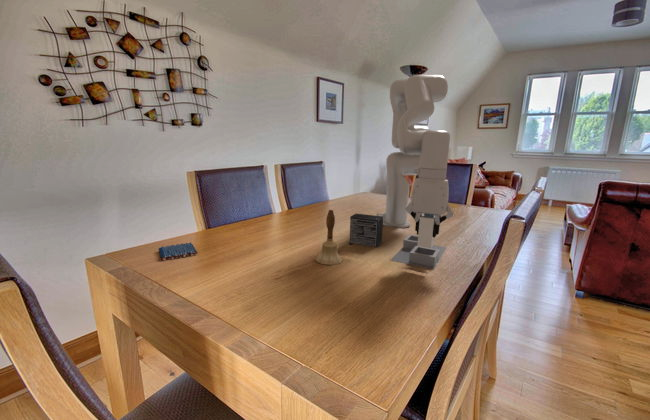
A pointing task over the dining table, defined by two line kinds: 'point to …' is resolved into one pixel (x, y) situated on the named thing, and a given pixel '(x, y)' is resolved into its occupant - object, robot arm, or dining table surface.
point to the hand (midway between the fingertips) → (426, 234)
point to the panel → (418, 253)
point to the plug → (426, 231)
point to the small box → (366, 229)
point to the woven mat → (177, 251)
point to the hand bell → (329, 245)
